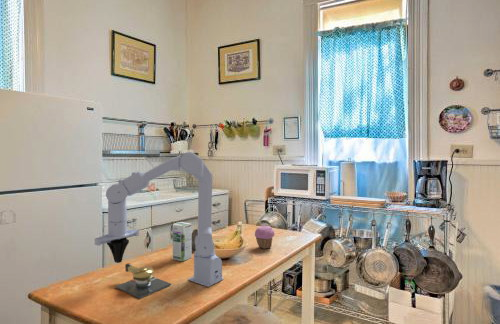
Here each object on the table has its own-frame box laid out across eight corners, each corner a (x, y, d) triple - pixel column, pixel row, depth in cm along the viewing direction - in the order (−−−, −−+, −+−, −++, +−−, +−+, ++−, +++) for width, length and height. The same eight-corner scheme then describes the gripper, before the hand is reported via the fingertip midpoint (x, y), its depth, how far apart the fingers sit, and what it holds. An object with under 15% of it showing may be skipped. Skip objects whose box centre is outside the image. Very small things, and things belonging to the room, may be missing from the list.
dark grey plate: (172, 284, 109) (171, 275, 109) (140, 298, 99) (139, 288, 99) (147, 275, 117) (147, 266, 117) (115, 287, 107) (115, 278, 107)
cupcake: (278, 247, 149) (278, 226, 149) (264, 252, 143) (264, 229, 143) (264, 243, 156) (264, 222, 155) (250, 247, 150) (250, 225, 149)
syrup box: (171, 259, 133) (171, 224, 133) (181, 255, 139) (181, 221, 138) (183, 261, 131) (182, 225, 130) (192, 257, 136) (192, 222, 135)
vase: (197, 246, 152) (196, 227, 151) (207, 249, 147) (207, 229, 147) (185, 249, 146) (185, 230, 146) (195, 252, 142) (195, 232, 142)
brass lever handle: (157, 275, 108) (157, 268, 108) (141, 282, 103) (140, 274, 103) (134, 267, 116) (134, 260, 116) (118, 272, 110) (118, 265, 110)
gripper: (129, 215, 115) (130, 253, 116) (89, 223, 104) (89, 265, 104) (142, 218, 111) (142, 257, 112) (101, 226, 100) (102, 270, 100)
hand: (118, 261), depth 108 cm, fingers closed
